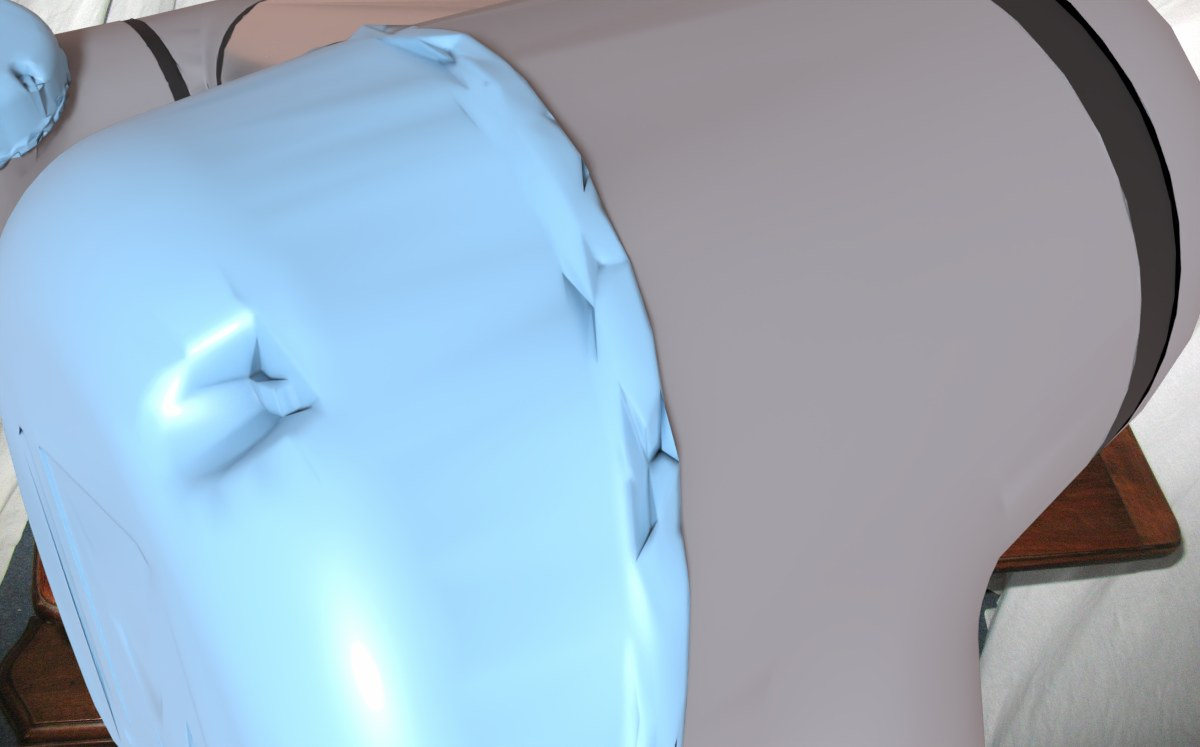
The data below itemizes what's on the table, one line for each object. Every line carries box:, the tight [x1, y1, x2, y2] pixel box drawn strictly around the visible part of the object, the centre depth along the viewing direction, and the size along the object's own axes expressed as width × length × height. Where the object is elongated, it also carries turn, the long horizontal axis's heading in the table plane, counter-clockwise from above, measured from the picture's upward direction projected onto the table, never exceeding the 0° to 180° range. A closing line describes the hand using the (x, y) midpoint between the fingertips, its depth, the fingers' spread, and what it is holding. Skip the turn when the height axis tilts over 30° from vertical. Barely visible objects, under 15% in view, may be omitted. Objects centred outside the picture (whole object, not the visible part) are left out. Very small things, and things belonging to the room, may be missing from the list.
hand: (565, 177), depth 65 cm, fingers closed on cup, 8 cm apart
